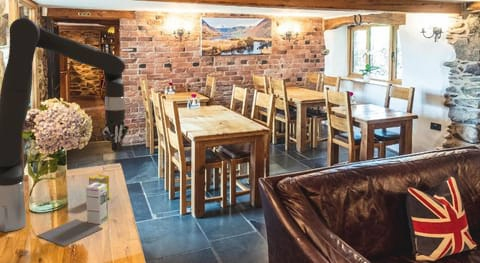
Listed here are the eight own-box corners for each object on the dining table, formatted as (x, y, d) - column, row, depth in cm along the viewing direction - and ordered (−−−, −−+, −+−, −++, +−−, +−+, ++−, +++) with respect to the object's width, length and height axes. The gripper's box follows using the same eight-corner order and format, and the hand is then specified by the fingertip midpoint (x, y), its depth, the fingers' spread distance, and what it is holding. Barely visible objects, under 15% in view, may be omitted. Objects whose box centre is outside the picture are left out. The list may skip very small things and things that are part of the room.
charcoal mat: (64, 246, 142) (64, 246, 142) (37, 236, 149) (37, 235, 149) (102, 228, 157) (102, 228, 157) (76, 219, 163) (76, 219, 163)
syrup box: (100, 224, 160) (99, 188, 157) (86, 222, 161) (85, 186, 158) (108, 218, 166) (107, 183, 163) (94, 216, 167) (93, 181, 164)
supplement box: (109, 199, 185) (109, 175, 183) (100, 204, 180) (100, 179, 177) (98, 197, 187) (97, 173, 185) (89, 201, 182) (88, 177, 179)
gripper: (120, 104, 170) (120, 146, 174) (94, 108, 159) (95, 153, 163) (134, 107, 167) (134, 149, 171) (109, 111, 156) (109, 156, 159)
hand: (115, 151), depth 167 cm, fingers closed
